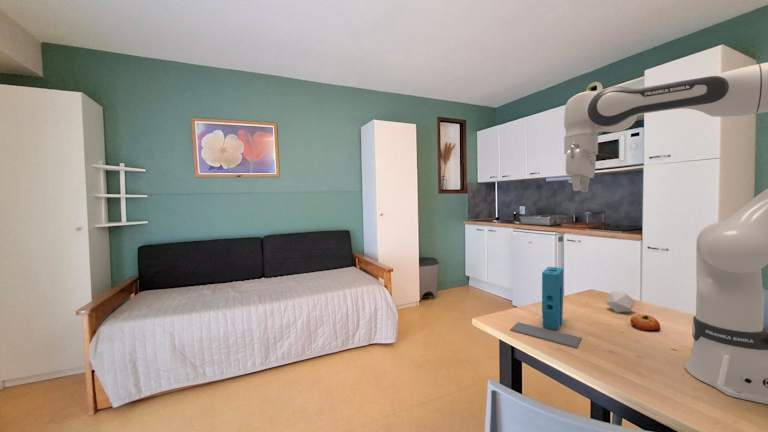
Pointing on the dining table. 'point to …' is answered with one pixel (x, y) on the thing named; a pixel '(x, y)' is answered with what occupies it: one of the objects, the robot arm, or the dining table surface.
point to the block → (552, 297)
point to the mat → (547, 334)
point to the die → (620, 302)
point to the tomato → (645, 322)
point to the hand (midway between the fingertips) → (580, 191)
